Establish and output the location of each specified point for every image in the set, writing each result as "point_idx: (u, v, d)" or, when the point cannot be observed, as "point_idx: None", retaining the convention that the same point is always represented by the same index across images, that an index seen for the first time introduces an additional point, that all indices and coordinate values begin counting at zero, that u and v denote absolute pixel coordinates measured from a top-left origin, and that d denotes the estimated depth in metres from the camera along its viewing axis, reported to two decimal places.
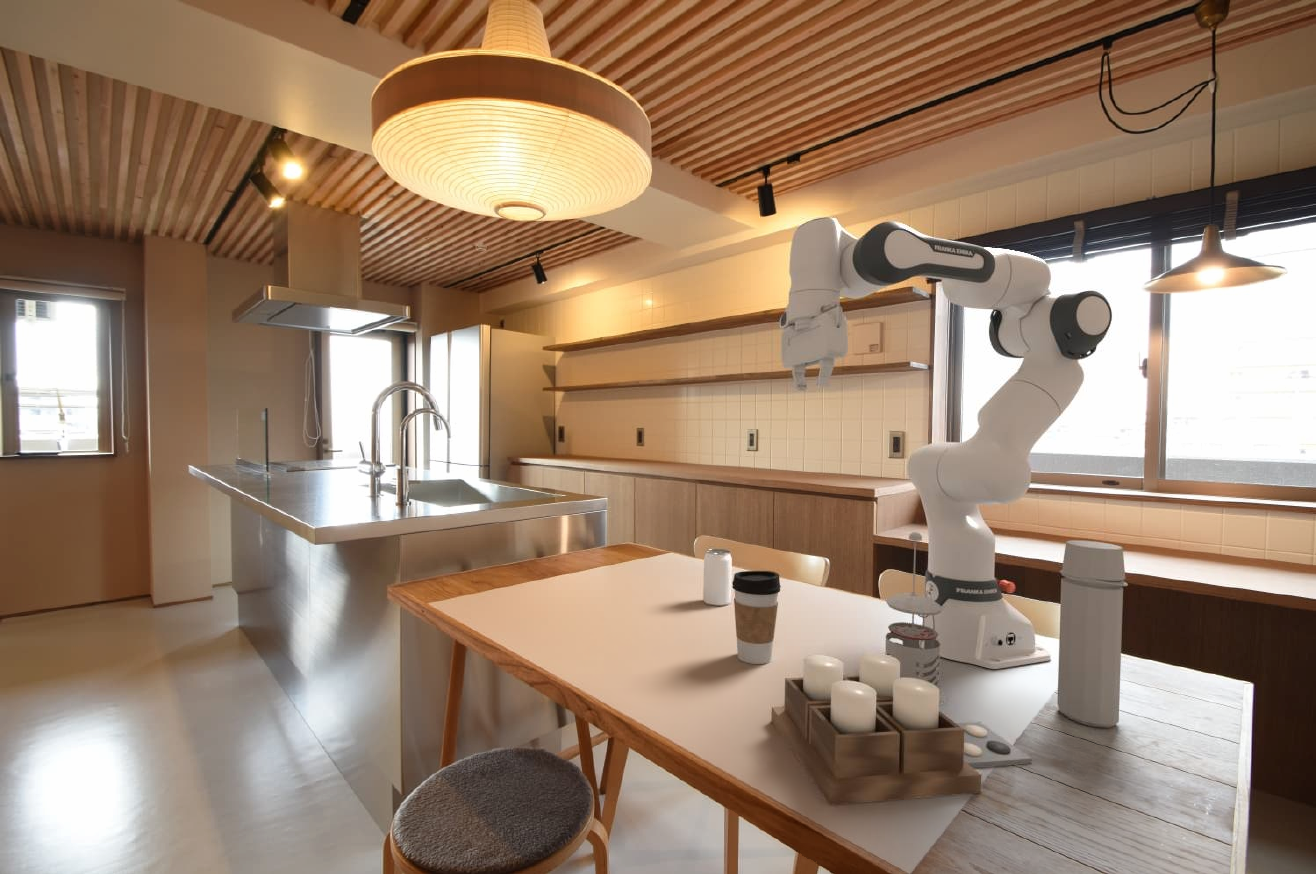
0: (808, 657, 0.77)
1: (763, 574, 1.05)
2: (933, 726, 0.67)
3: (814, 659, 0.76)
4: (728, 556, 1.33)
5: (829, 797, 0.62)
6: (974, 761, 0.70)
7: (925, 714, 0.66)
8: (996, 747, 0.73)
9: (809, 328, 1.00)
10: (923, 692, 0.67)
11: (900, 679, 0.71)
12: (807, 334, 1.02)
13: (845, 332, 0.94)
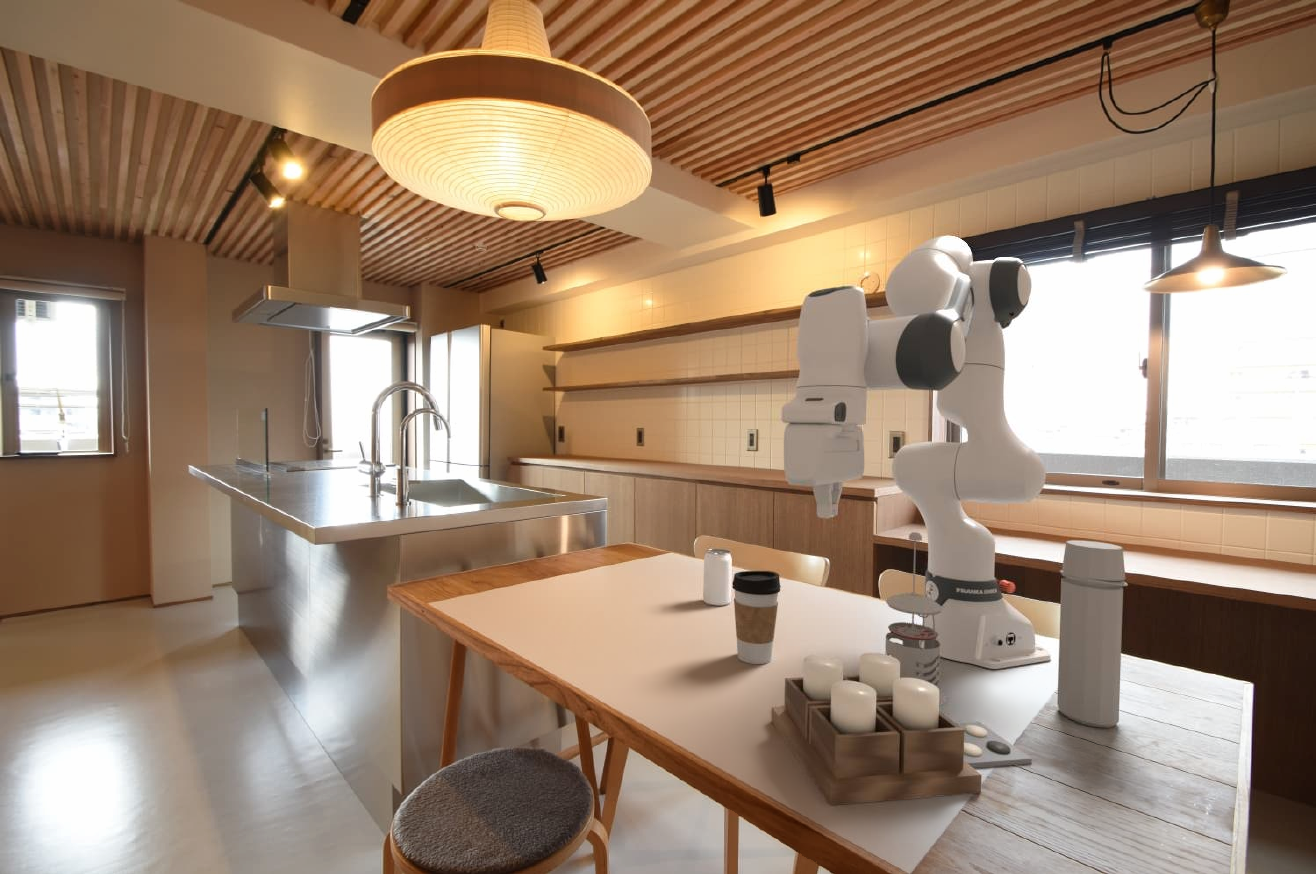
0: (808, 657, 0.77)
1: (763, 574, 1.05)
2: (933, 726, 0.67)
3: (814, 659, 0.76)
4: (728, 556, 1.33)
5: (829, 797, 0.62)
6: (974, 761, 0.70)
7: (925, 714, 0.66)
8: (996, 747, 0.73)
9: (848, 438, 0.76)
10: (923, 692, 0.67)
11: (900, 679, 0.71)
12: (844, 444, 0.75)
13: None
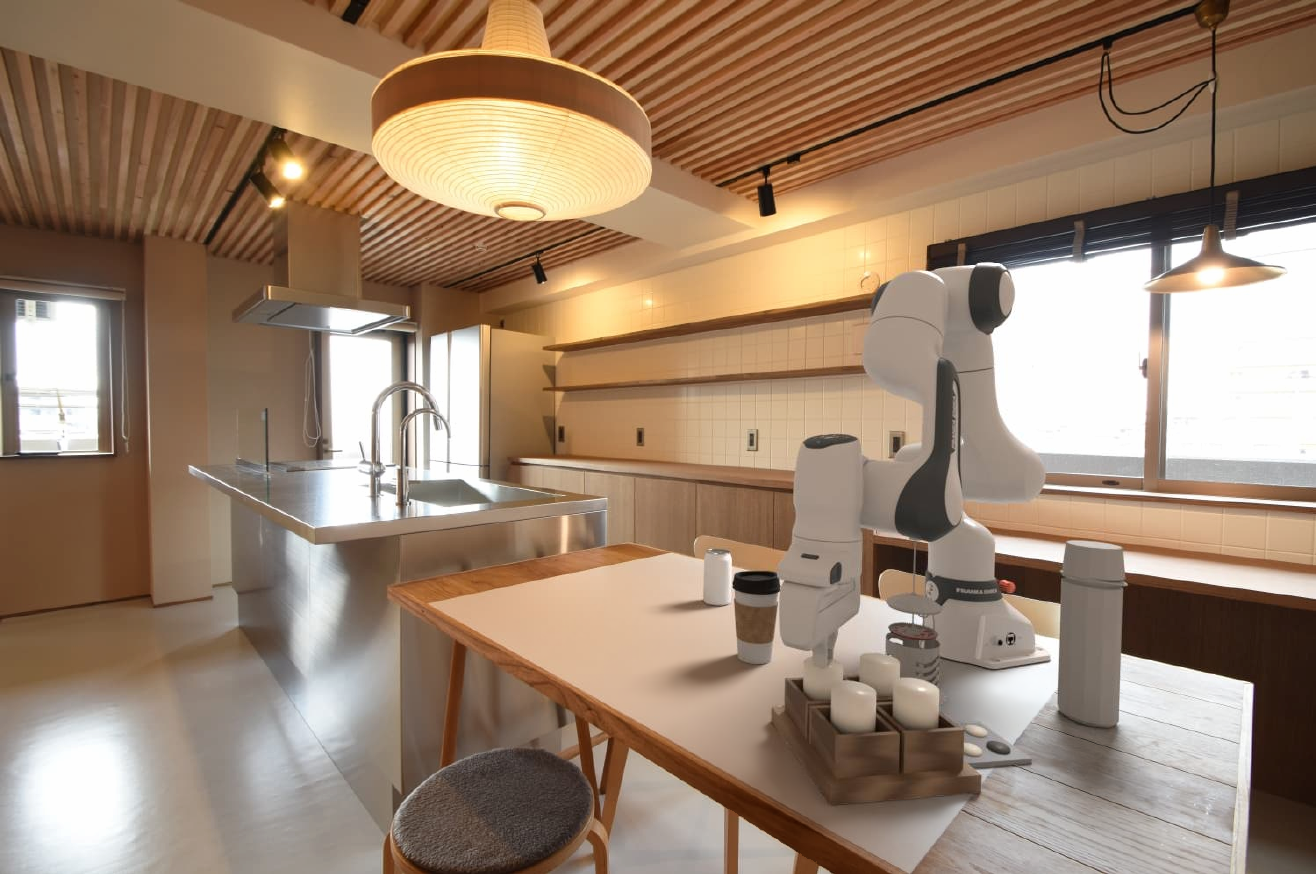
0: (808, 659, 0.77)
1: (763, 574, 1.05)
2: (933, 726, 0.67)
3: None
4: (728, 556, 1.33)
5: (829, 797, 0.62)
6: (974, 761, 0.70)
7: (925, 714, 0.66)
8: (996, 747, 0.73)
9: None
10: (923, 692, 0.67)
11: (900, 679, 0.71)
12: (839, 591, 0.75)
13: None
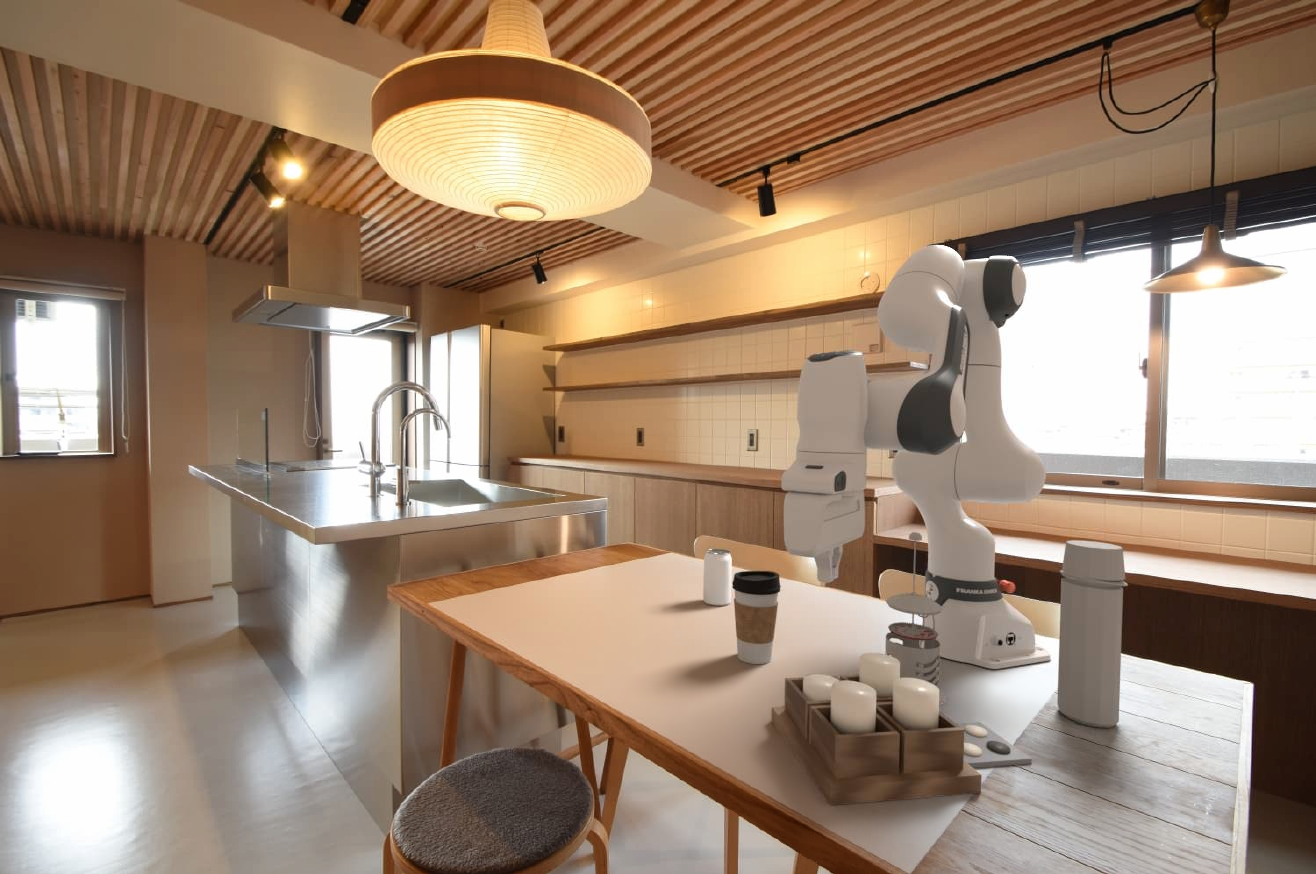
0: (807, 677, 0.77)
1: (763, 574, 1.05)
2: (933, 726, 0.67)
3: (814, 679, 0.76)
4: (728, 556, 1.33)
5: (829, 797, 0.62)
6: (974, 761, 0.70)
7: (925, 714, 0.66)
8: (996, 747, 0.73)
9: None
10: (923, 692, 0.67)
11: (900, 679, 0.71)
12: (844, 508, 0.75)
13: None
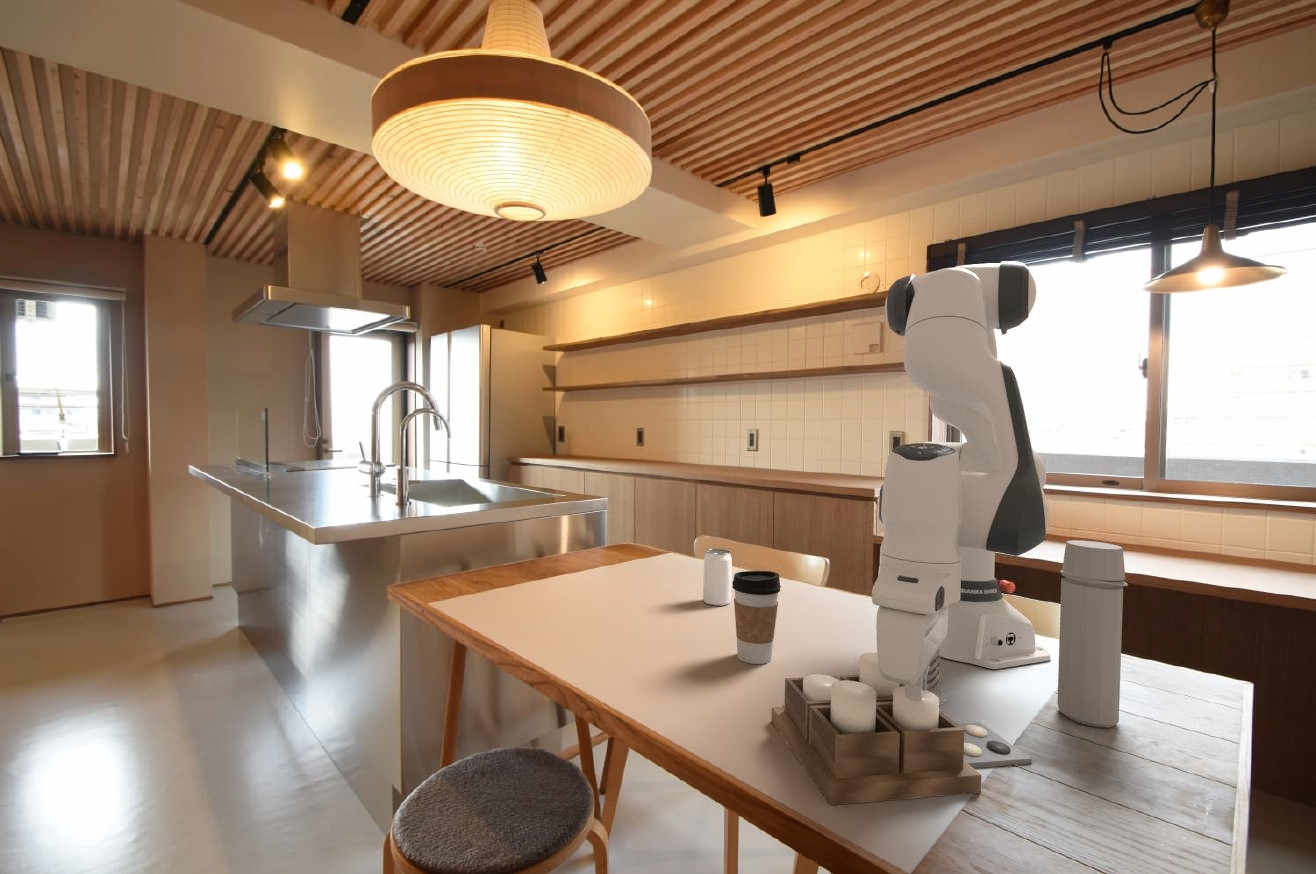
0: (807, 677, 0.77)
1: (763, 574, 1.05)
2: None
3: (814, 679, 0.76)
4: (728, 556, 1.33)
5: (829, 797, 0.62)
6: (974, 761, 0.70)
7: (925, 724, 0.66)
8: (996, 747, 0.73)
9: None
10: (923, 701, 0.67)
11: (900, 688, 0.71)
12: None
13: None
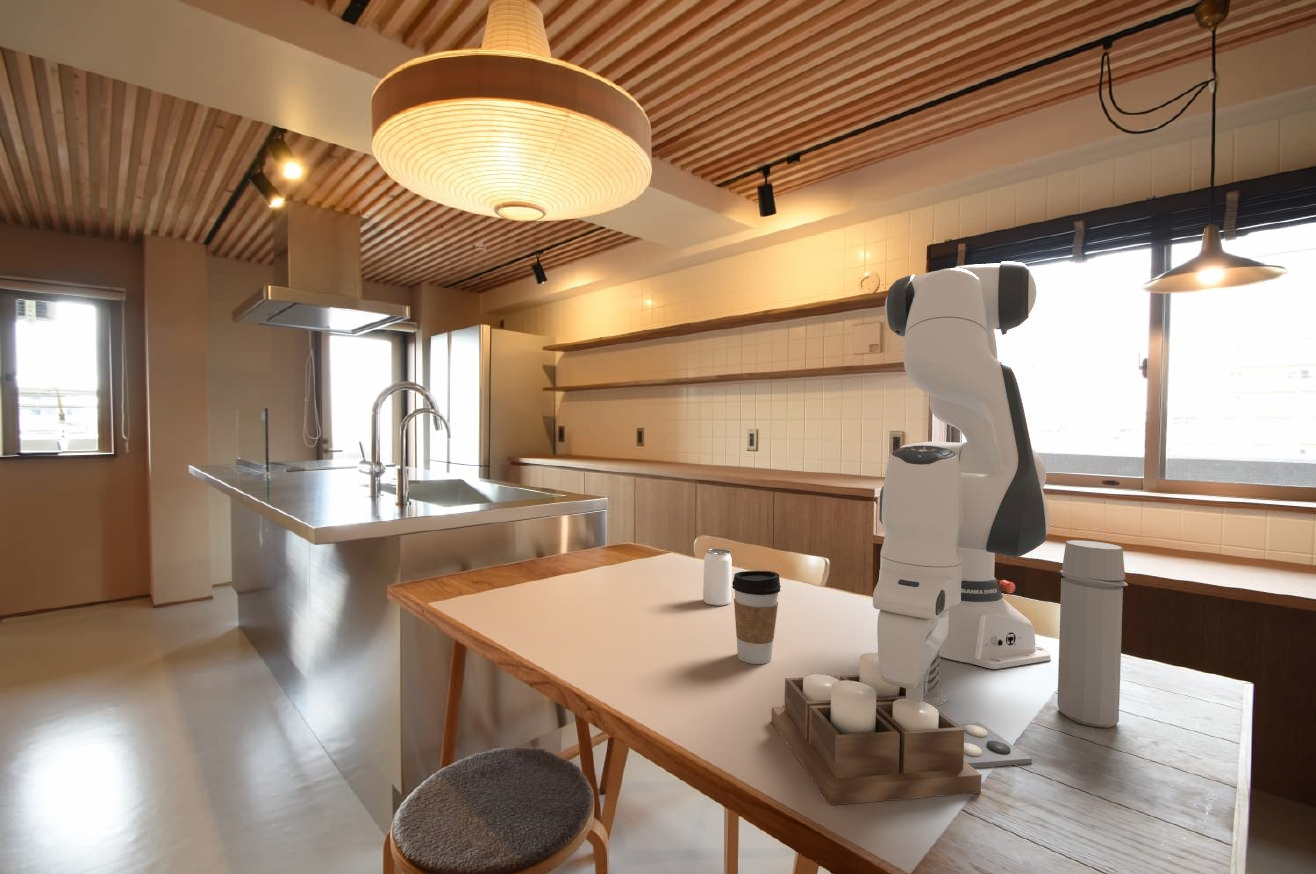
0: (807, 677, 0.77)
1: (763, 574, 1.05)
2: None
3: (814, 679, 0.76)
4: (728, 556, 1.33)
5: (829, 797, 0.62)
6: (974, 761, 0.70)
7: None
8: (996, 747, 0.73)
9: None
10: (922, 714, 0.67)
11: (899, 700, 0.71)
12: None
13: None
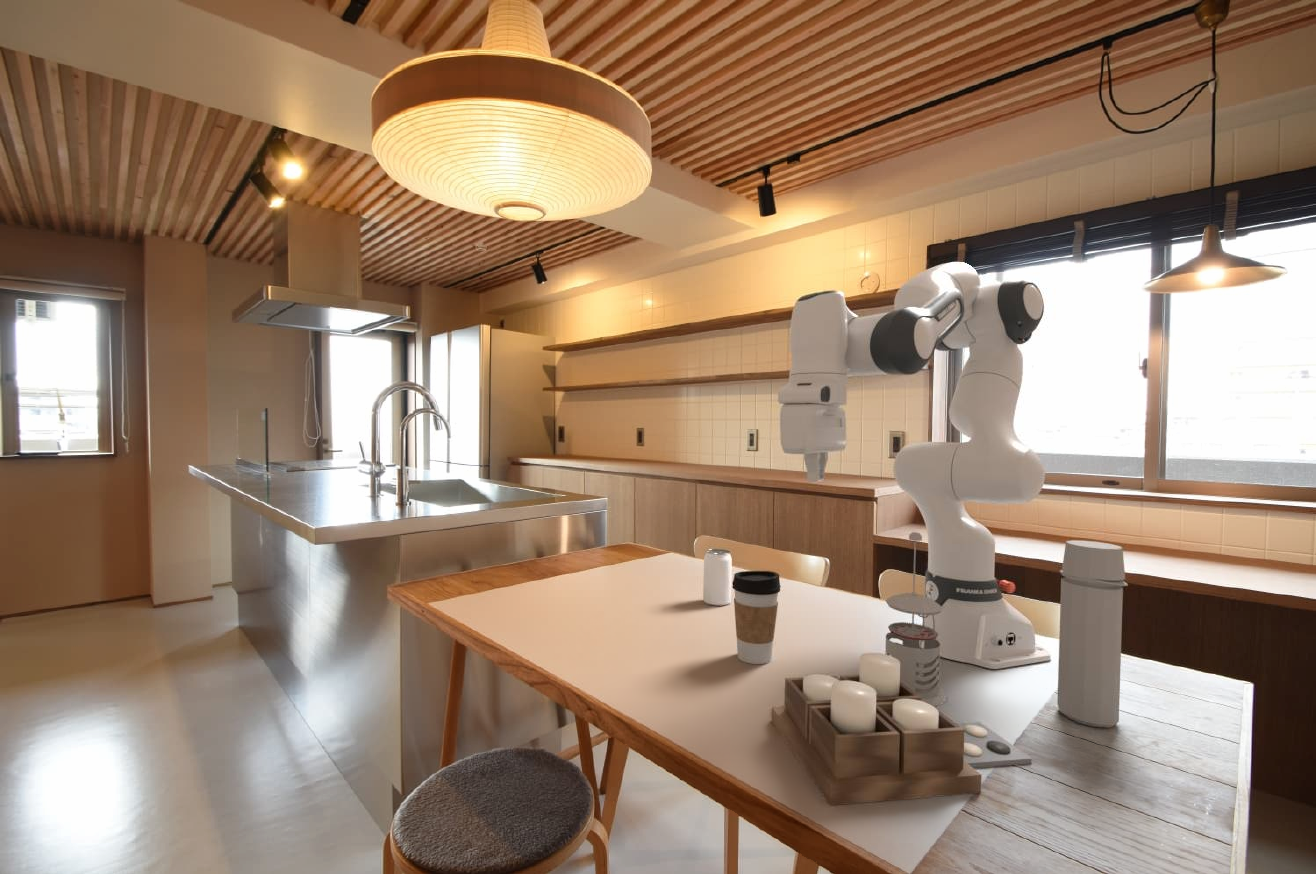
0: (807, 677, 0.77)
1: (763, 574, 1.05)
2: None
3: (814, 679, 0.76)
4: (728, 556, 1.33)
5: (829, 797, 0.62)
6: (974, 761, 0.70)
7: None
8: (996, 747, 0.73)
9: (833, 416, 0.92)
10: (922, 714, 0.67)
11: (899, 700, 0.71)
12: (829, 421, 0.91)
13: None
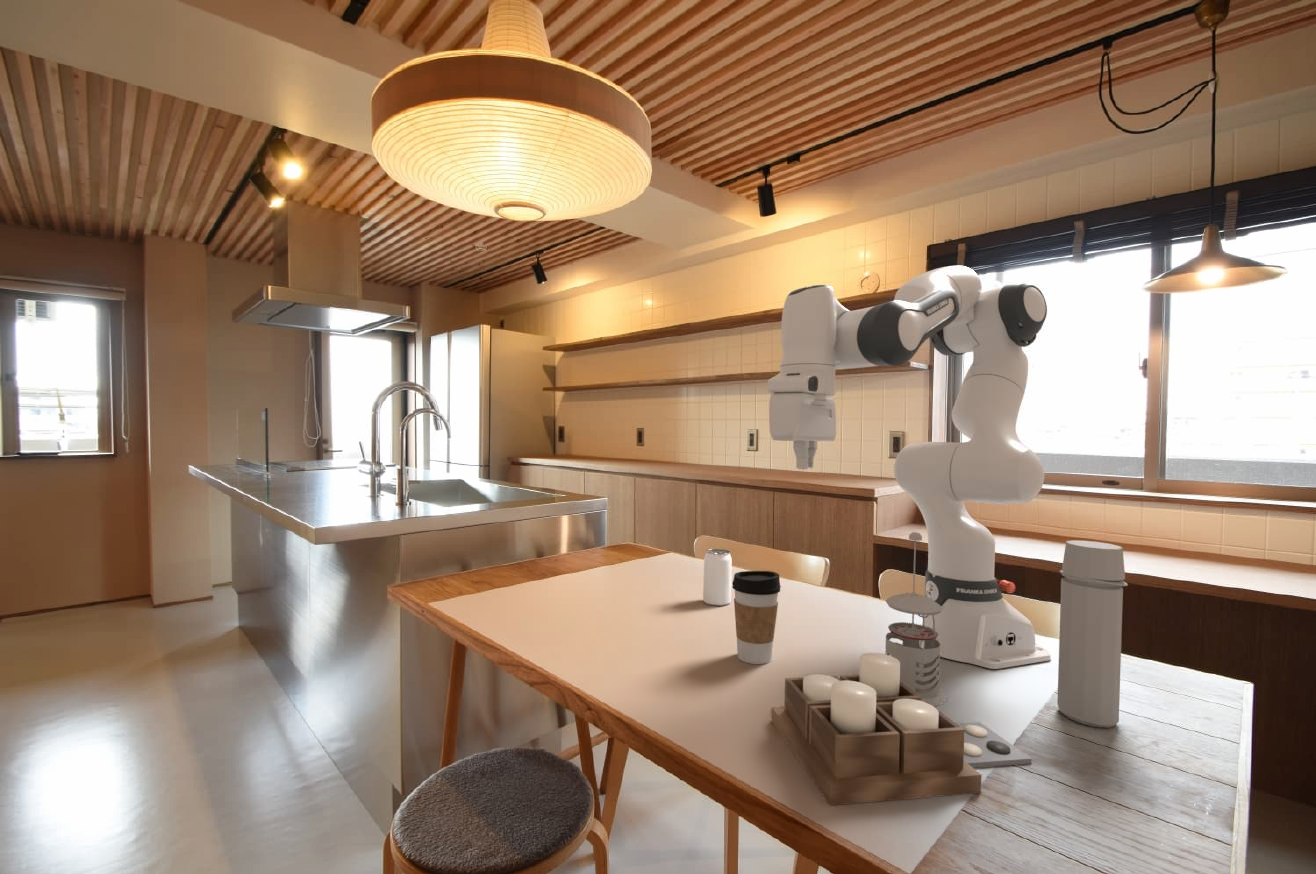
0: (807, 677, 0.77)
1: (763, 574, 1.05)
2: None
3: (814, 679, 0.76)
4: (728, 556, 1.33)
5: (829, 797, 0.62)
6: (974, 761, 0.70)
7: None
8: (996, 747, 0.73)
9: (822, 406, 0.95)
10: (922, 714, 0.67)
11: (899, 700, 0.71)
12: (818, 411, 0.95)
13: None
